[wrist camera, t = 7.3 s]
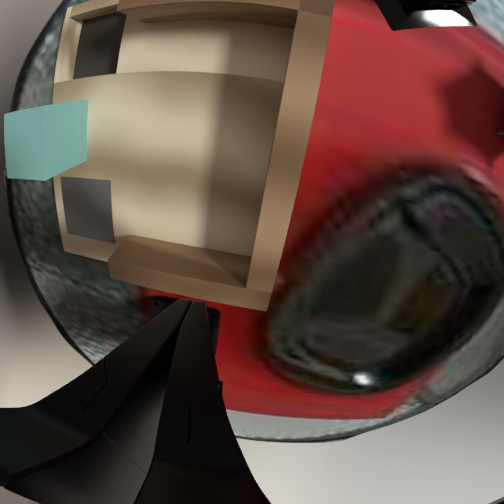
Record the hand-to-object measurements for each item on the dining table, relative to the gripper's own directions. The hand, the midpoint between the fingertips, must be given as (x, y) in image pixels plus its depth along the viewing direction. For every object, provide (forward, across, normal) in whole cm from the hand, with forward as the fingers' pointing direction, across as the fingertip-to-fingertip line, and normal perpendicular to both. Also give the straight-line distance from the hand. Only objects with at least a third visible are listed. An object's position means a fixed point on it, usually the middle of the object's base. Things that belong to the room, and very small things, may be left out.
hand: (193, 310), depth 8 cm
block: (+10, +13, -5) cm, 17 cm away
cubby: (+10, +2, -4) cm, 11 cm away
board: (+12, +6, -4) cm, 14 cm away
